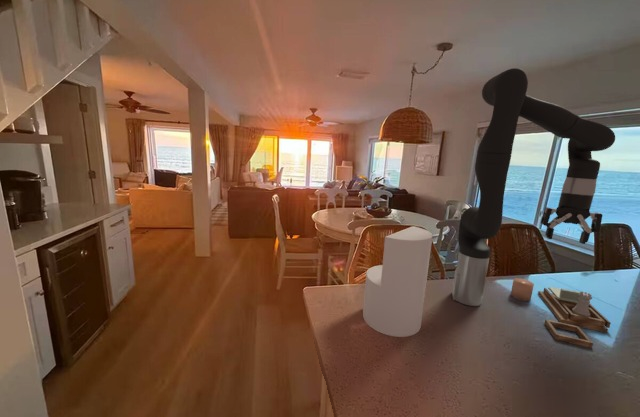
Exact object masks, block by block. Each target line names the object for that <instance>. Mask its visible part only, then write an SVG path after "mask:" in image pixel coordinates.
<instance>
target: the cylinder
mask: <svg viewBox="0 0 640 417" xmlns="http://www.w3.org/2000/svg"><path fill="white" fill-rule="evenodd" d="M432 242H433V234H432V233H431V231H429V230H427V229H424V228H421V227H418V226H414V225H413V226H410V227H407V228H405V229H402V230H400V231H397V232H393V233H392V234H389V235H387V236H386V235H385V236H384V245H383V256H382V264H379V265H375V266H372V267H370V268H368V269H367V271H366V272H365V286H364V294H363V295H364V296H363V297H364V298H363V311H362V316H363V319H364V322H365V323H366V324H367V325H368V326H369V327H370V328H371V329H373V330H374V331H375V332H376V331H377V332H378V333H381V334H383V335H387V336H390V337H395V338H396V337H398V338H404V337H405V338H406V337H411V336H414V335H415V334H417V333H418V332H420V330H421V327H422V319H423V312H424V304H425V295H426V289H427V288H426V287H427V280H428V273H429V265H430V257H431V250H432Z"/></svg>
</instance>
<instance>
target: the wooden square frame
mask: <svg viewBox="0 0 640 417" xmlns="http://www.w3.org/2000/svg"><path fill="white" fill-rule="evenodd" d="M544 325H545V326H546V328H547V329H548V331H549V333H550V334H551V336H553V339H554V340H557V341H561V342H565V343H568V344H573V345H577V346H581V347H585V348H590V349H593V346H594V342H593V341H592V340H591V339H590V338H589V337H588V335H587V334H586V333H585V332H584V331H583V329H582V328H581V327H579V326H574V325H569V324H565V323H560V321H557V320H551V319H546V318H545V320H544ZM556 328H558V329H561V330H562V329H563V330H567V331H571V332H574V333H576V334H577V336H579V338H578V337H574V336H570V335H566V334H560V333H558V331H557V330H556Z"/></svg>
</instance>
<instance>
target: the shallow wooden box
mask: <svg viewBox="0 0 640 417" xmlns="http://www.w3.org/2000/svg"><path fill="white" fill-rule="evenodd" d="M537 295H538V296H539V297H540V298H541V300H542V301H543V302H544V303H545V305H546V306H547V307H548V308H549V310H550V311H551V312H552V313H553V315H554V316H555V317H556V319H557V320H558V322H560V323H565V324H569V325H574V326H579V327H580V328H584V329H587V330H592V331H596V332H601V333H606V334H608V332H609V329H610V328H611V321H610V320H609V319H607V318H606V317H605V316H604V315H603V314H602V313H601V312H600V311H598V309H596V308H595V307H594V306H593V305H592V304H591V305H589V306H588V310H589V313H590V316H589V317H586V316H581V315H576V314H573V313H572V312H571V311H572V308H574V307H575V306H576V305H577V303H574V302H569V301H564V300H559V299H557V298H556V297H555V295H554V294H553V293H552V292H551V291H550V290H549V289H547V287H544V288H543V291H541V290H538V292H537Z"/></svg>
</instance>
